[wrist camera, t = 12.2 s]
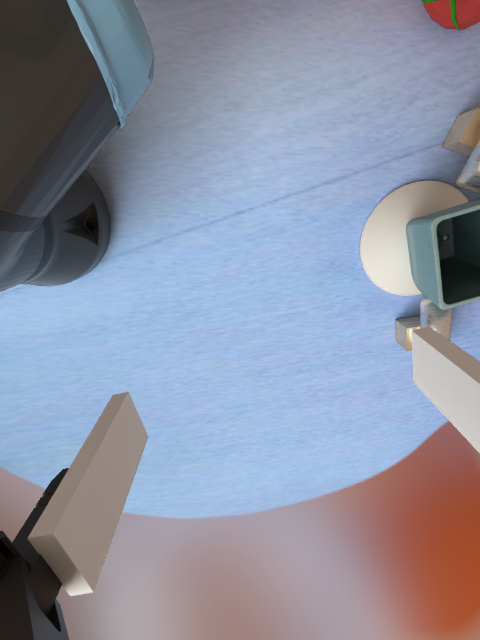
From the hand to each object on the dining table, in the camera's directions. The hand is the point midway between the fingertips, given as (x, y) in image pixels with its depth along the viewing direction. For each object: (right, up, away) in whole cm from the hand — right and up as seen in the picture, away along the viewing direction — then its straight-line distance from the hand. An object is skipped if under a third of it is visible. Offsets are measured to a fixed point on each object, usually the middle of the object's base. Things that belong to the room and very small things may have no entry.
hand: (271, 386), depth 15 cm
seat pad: (+19, +12, +22) cm, 32 cm away
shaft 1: (+21, +3, +26) cm, 33 cm away
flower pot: (+21, +12, +22) cm, 33 cm away
